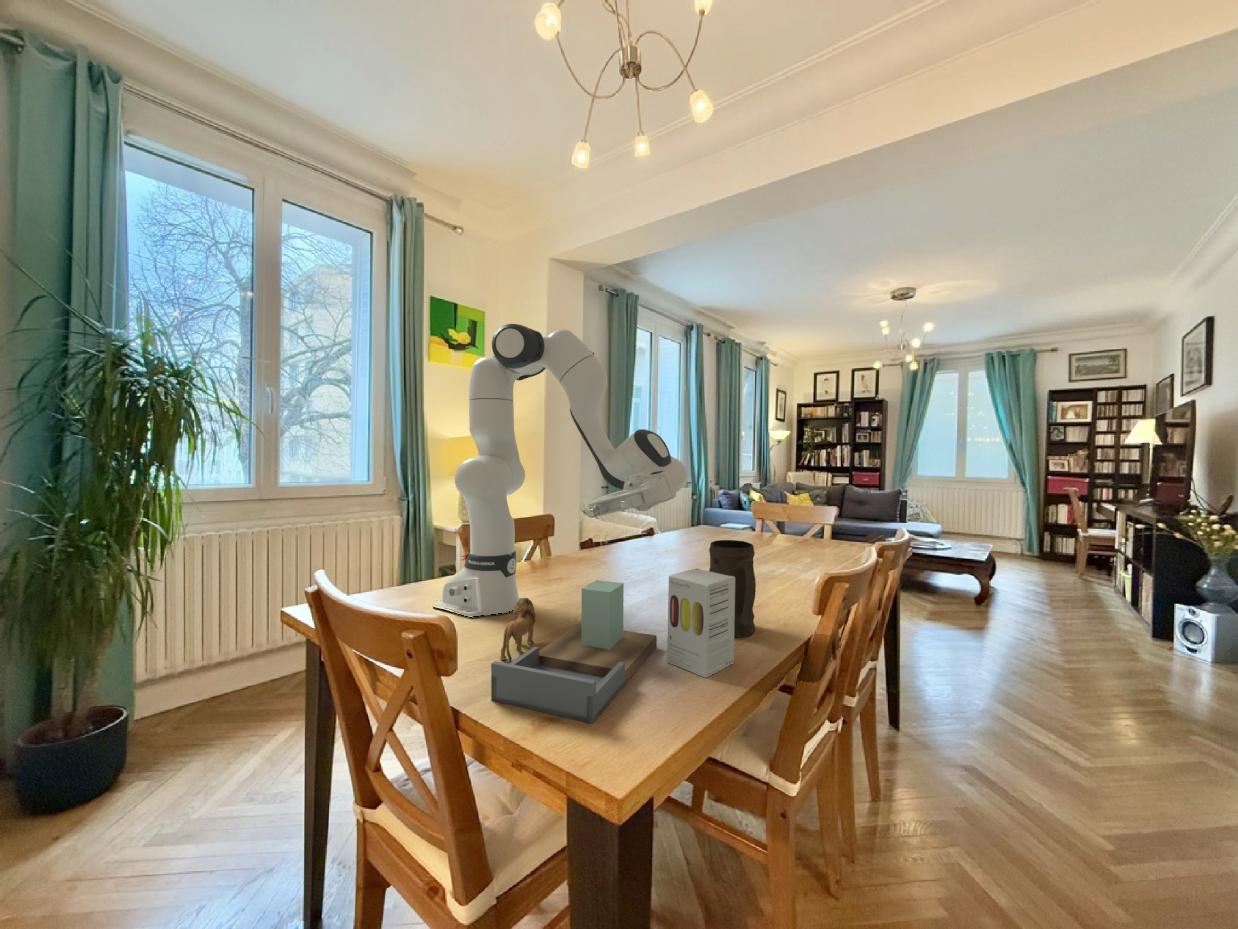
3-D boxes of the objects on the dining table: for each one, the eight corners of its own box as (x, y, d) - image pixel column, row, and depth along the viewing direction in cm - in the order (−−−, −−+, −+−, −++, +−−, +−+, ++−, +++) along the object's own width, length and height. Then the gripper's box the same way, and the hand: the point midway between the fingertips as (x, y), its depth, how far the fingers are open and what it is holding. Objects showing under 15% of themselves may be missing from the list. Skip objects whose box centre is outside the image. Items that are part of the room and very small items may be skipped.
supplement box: (665, 662, 95) (666, 574, 94) (694, 649, 101) (695, 567, 101) (707, 679, 88) (708, 584, 87) (735, 663, 94) (736, 575, 94)
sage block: (581, 644, 97) (581, 588, 96) (596, 632, 103) (596, 580, 103) (609, 649, 94) (610, 592, 94) (623, 637, 101) (623, 583, 100)
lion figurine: (513, 636, 108) (513, 595, 107) (537, 636, 108) (538, 595, 107) (496, 665, 93) (496, 617, 93) (525, 665, 93) (525, 618, 93)
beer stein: (695, 623, 116) (699, 539, 114) (733, 617, 120) (738, 536, 119) (735, 652, 102) (740, 557, 100) (777, 644, 106) (782, 553, 105)
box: (491, 700, 80) (491, 663, 80) (534, 668, 92) (534, 635, 92) (592, 723, 73) (593, 683, 73) (624, 685, 85) (625, 650, 85)
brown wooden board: (534, 668, 92) (534, 654, 92) (577, 635, 109) (578, 623, 108) (624, 685, 85) (624, 671, 85) (656, 647, 102) (656, 635, 102)
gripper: (605, 487, 122) (568, 505, 111) (672, 468, 109) (638, 486, 98) (614, 511, 122) (578, 531, 112) (682, 495, 109) (648, 516, 99)
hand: (606, 510), depth 105 cm, fingers open, 8 cm apart
